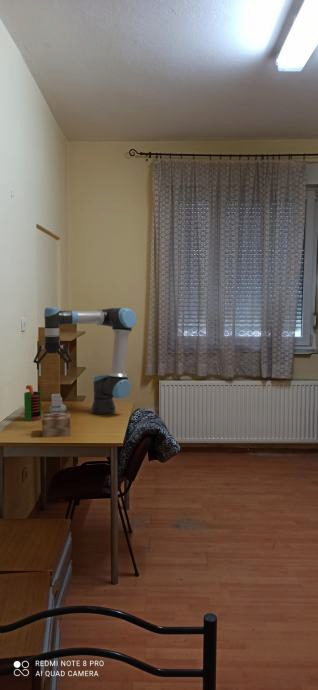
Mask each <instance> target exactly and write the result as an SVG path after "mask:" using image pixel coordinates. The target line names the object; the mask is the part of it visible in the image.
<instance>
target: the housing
mask: <svg viewBox="0 0 318 690" xmlns="http://www.w3.org/2000/svg"><path fill="white" fill-rule="evenodd" d="M41 433H42V435H41V437H42V438H49V437H50V438H52V437H55V438H56V437H70V436H71V412H64V413H61V417H59V415H54V417H52V413H43V414H42V416H41Z"/></svg>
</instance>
